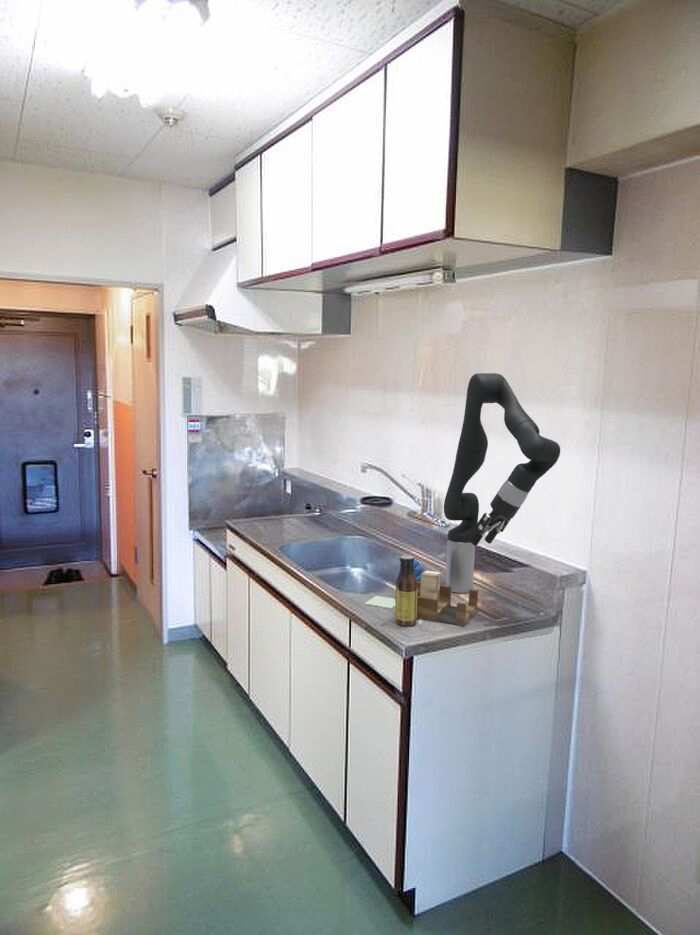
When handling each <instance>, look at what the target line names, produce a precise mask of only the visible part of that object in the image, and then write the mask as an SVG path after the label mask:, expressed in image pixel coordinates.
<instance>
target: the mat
mask: <svg viewBox="0 0 700 935" xmlns="http://www.w3.org/2000/svg"><path fill="white" fill-rule="evenodd" d="M364 605H365V606H369V605H371V606H370V607H375V606H377V607H376V608H381V607H382V608H383V609H387V610H393V609H394V608H395V606H396V598H391V597H388V596H387V597H385V596H379V595H375V596H373V597H372V598H370V599H369V600H368V601H366V602H365V603H364Z"/></svg>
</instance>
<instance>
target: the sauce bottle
mask: <svg viewBox="0 0 700 935" xmlns="http://www.w3.org/2000/svg"><path fill="white" fill-rule="evenodd" d="M414 560H415V557H414V556H413V555H409V554H405V555H401V556H399V563H400V566H399V568H400V569H399V572H398V576H397V579H396V582H395V599H396V606H395V607H394V608H395V612H394V613H395V614H394V616H395V623H396V624H398V625H400V626H404V627H405V626H406V627H408V626H413V625H415V624H416V623H417V579H416V576H415V575H414V573H413V571H414V570H413V563H414Z"/></svg>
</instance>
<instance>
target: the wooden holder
mask: <svg viewBox="0 0 700 935" xmlns="http://www.w3.org/2000/svg"><path fill="white" fill-rule="evenodd" d="M420 589H421V582H417V618H416V620H417V619H419V620H424V621H429V622H434V623H435V622H436V623H440V624H442V623H443V624H448V625H452V626H460V627H465V626H467V624H468V623H469V621H470V620H471V619H472V618H474V616H475V615H476V613H477V612H478V605H479V602H478V600H479V590H478V589H473V590H472V589H470V590H469V592H468V605H467V603H466V602H460V601H458V602H456V606H455V605H452V604H451V603H452V602H451V601H452V592H451V586H446V585H444V584H440V591H439V605H438V599H434V598H428V597H421V596H420Z"/></svg>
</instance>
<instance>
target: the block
mask: <svg viewBox="0 0 700 935" xmlns="http://www.w3.org/2000/svg"><path fill="white" fill-rule="evenodd" d="M440 585H441V572H440V571H431V570H425V571H423V572H422V574H421V589H420V596H421V597H428V598H434V599H438V605H439V591H440Z"/></svg>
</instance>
